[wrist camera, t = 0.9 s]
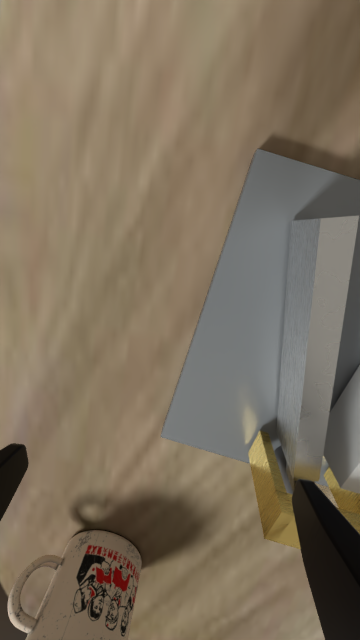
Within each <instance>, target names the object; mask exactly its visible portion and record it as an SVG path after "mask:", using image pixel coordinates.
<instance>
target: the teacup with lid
mask: <svg viewBox="0 0 360 640" xmlns="http://www.w3.org/2000/svg"><path fill="white" fill-rule="evenodd" d="M141 566H142V561H141V556H140V554H139V552H138V550H137V549H136V547H135V546H134V545H133V544H132V543H131V542H129V541H128V540H127V539H125V538H123V537H121V536H119V535H117V534H114V533H111V532H108V531H102V530H89V531H84V532H81V533H79V534H77V535H75V536H74V537H73V538H72V539H71V540H70V541H69V542H68V544H67V546H66V548H65V551H64V553H63V555H62V558H60V557H58V556H55V555H45V556H42V557H40V558H38V559H36V560H35V561H34V562H32V563H31V564H30V565H29V566H28V567H27V568H26V569H25V570H24V571H23V572H22V573H21V575H20V576H19V577H18V579H17V580H16V582H15V584H14V586H13V588H12V590H11V593H10V596H9V599H8V614H9V618H10V620H11V622H12V623H13V625H14V626H15V627H17V628H18V629H20V630H22V631H24V632H26V633H28V636H27V638H26V640H128V635H129V630H130V624H131V619H132V614H133V609H134V603H135V598H136V593H137V587H138V582H139V577H140V571H141ZM40 567H50V568H53V569H55V570H56V571H55V574H54V576H53V578H52V581H51V583H50V585H49V587H48V590H47V592H46V594H45V597H44V599H43V601H42V603H41V606H40V608H39V610H38V613H37V615H36V617H35V618H33V617H31V616H29V615H27V614H26V613H25V612H24V611H23V610H22V607H21V604H20V594H21V590H22V588H23V585H24V583H25V582H26V580H27V578H28V577H29V576H30V574H31V573H32V572H33V571H34V570H36V569H37V568H40Z"/></svg>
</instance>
